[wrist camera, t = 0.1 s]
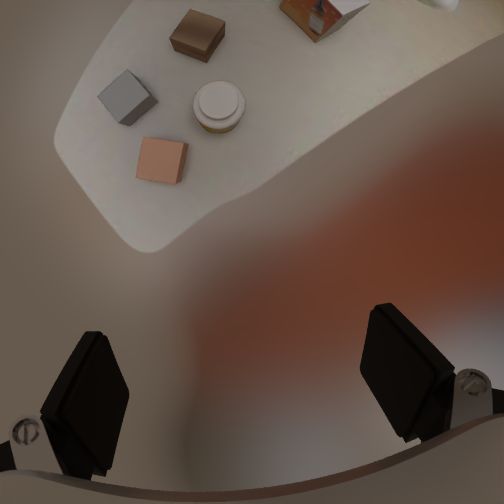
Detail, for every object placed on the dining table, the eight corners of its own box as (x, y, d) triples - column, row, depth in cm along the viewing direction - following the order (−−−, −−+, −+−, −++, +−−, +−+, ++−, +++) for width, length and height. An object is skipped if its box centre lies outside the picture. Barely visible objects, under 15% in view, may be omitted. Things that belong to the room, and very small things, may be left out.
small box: (278, 7, 29) (295, -28, 20) (305, -6, 29) (327, -40, 19) (315, 44, 32) (343, 16, 22) (340, 29, 31) (372, 2, 21)
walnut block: (193, 24, 29) (190, 9, 25) (224, 36, 31) (225, 21, 26) (174, 50, 31) (169, 38, 26) (206, 63, 32) (204, 51, 27)
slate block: (137, 78, 31) (127, 68, 27) (158, 102, 33) (149, 95, 28) (110, 102, 32) (97, 96, 27) (130, 126, 33) (118, 122, 29)
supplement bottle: (197, 96, 33) (189, 76, 24) (239, 93, 34) (245, 72, 24) (199, 136, 35) (191, 129, 25) (241, 132, 36) (249, 124, 26)
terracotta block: (152, 139, 35) (143, 137, 30) (188, 144, 35) (183, 142, 31) (145, 175, 36) (135, 178, 31) (181, 180, 37) (175, 184, 32)
